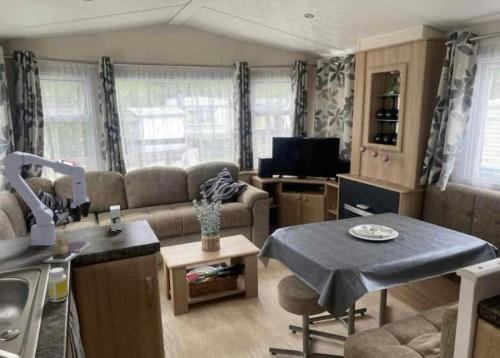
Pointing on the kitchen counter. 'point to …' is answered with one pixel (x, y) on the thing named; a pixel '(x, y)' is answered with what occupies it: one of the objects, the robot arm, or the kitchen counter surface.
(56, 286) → the supplement bottle
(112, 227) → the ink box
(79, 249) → the ink pad
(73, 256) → the marked square
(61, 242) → the stamp
